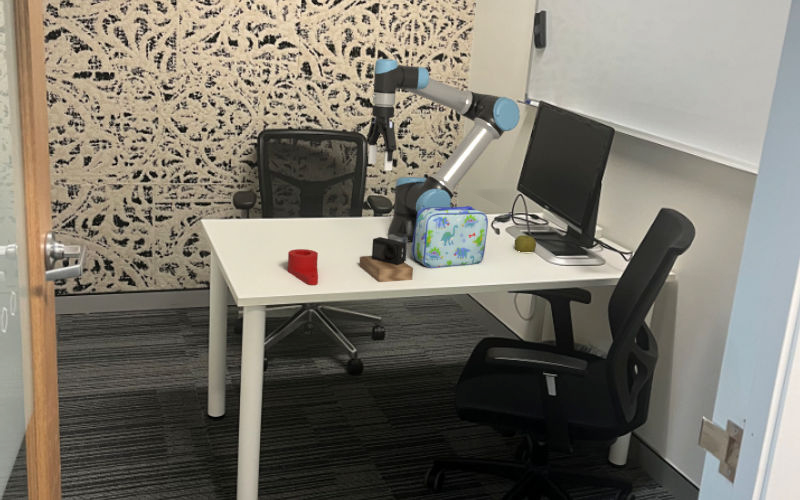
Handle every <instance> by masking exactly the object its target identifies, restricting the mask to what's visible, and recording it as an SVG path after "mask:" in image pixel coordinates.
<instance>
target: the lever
mask: <svg viewBox="0 0 800 500" xmlns="http://www.w3.org/2000/svg"><path fill="white" fill-rule="evenodd" d="M287 255H288V256H287V272H288V273H289V274H290V275H292V276H293V277H295V278H296V279H298V280H299V281H300V282H303V283H304V284H306V285H310V286H317V285H319V272H318V258H319V255H318V252H317V251H315V250H311V249H305V248H304V249H302V248H298V249H291V250H289V251H288V254H287Z"/></svg>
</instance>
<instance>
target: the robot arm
mask: <svg viewBox="0 0 800 500" xmlns="http://www.w3.org/2000/svg"><path fill="white" fill-rule="evenodd" d="M373 76H374V77H373V78H374V79H373V80H374V81H373V95H371V96H372V97H371V98H372V104H373V105H372V108H371V109H372V110H371V111H372V112H371V116H372V117H371V119H370V120H371V121H370V125H369V129H368V133H367V136H366V143H367V144H368V156H367V159H368V161H367V164H368V165H376V164H377V150H378V143H377V142H378V140H379V138H380V135H382V138H383V142H384V147H385V149H384V158H383V159H384V162H383V163H384V164H383V171H393V170H392V169H393V160H394V159H393V157H394V152H395V151H397V149H398V148H397V147H398V146H397V140H396V133H395V122H394V121H391V119H392V118H394V116H395V107H394V106H395V105H396V90H397V89H401V90H403V91H406V92H409V93H412V94H413V95H416V96H418V97H421V98H423V99H426V100H429V101H432V102H435V103H436V104H439V105H442V106H443V107H447V108H449V109H452V110H454V111H456V113H457V114H458V115H460V116H463V117H464V118H466V119H469V120H470V121H472V122H473V123H474V125H473V127H472V128H471V129H470V130H469V132H468V133H467V134H466V135H465V137H464V138H463V140H462V141H460V143H459V144H458V145H457V147H456V148H454V151H452V153H451V154H450V155H449V156H448V158H447V159H446V160H445V162H444V163H443V165H441V167H440V168H439V170H438V171H437V172H436V173H435V174H431V175H428V176H427V177H424V176H422V177H421V176H400V177H398V178H397V179H396V183H395V187H394V189H395V193H394V206H393V207H394V208H393V217H392V220H391V222H390V224H389V226H388V229H387V236H388V235H391V234H400V235H405V236H407V237H408V241H407V242H413V237H414V230H415V225H416V218H417V214H418V212H419V210H420V209H422V208H427V207H451V203H452V199H453V197H454V196H455V194H454V189H455V188H456V187H457V186H458V184H459V183H460V182H461V181H462V179H463V178H464V176H466V175H467V173H468V172H469V170H471V168H472V167H473V165H474V164H475V163H476V162H477V160H479V158H480V156H481V155H482V154H483V153H484V151H485V150H486V149H487V147H488V146H489V145H491V143H492V142H493V140H499V139H500V138H501V137H502V136H503V134H504V133H505V132H509V131H513V130H514V129H515V128H516V127H517V125H518V124H519V122H520V117H521V115H520V107H519V105H518V104H517V102H516V101H515V100H513V99H511V98H509V97H506V96H499V95H494V94H493V95H492V94H484V93H479V92H473V91H471V90H468V89H466V90H464V91H463V90H461V89H459V88H456V87H453V86H451V85H449V84H446V83H444V82H442V81H439V80H436V79H435V78H431V77H430V73H429V71H428V69H427V68H426V67H422V66H411V65H405V64H404V65H403V64H398V60H396V59H390V58H389V59H387V58H378V59H376V61H375V65H374V75H373Z"/></svg>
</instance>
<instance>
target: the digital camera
mask: <svg viewBox="0 0 800 500" xmlns="http://www.w3.org/2000/svg"><path fill="white" fill-rule="evenodd" d="M405 248H406V243H404V242H400V241H396V240H391V239H388V237H387V238H386V237H381V236H378V237H375V238H373V239H372V249H371V256H372V259H374V260H378V261H382V262H386V263H391V264H395V265H399V264H402V263H404V262H406V261H405Z"/></svg>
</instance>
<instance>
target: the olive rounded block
mask: <svg viewBox="0 0 800 500" xmlns="http://www.w3.org/2000/svg"><path fill="white" fill-rule="evenodd" d="M536 248H537V242H536V239H535V238H534V236H530V235H526V234H525V235H523V234H522V235H519V236H517V237H516V238H515V240H514V249H515V251H516V250H517V251H516V252H518V251H520V252H519V253H521V252H533V251H534V252H535V250H536ZM534 252H533V253H534Z"/></svg>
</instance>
